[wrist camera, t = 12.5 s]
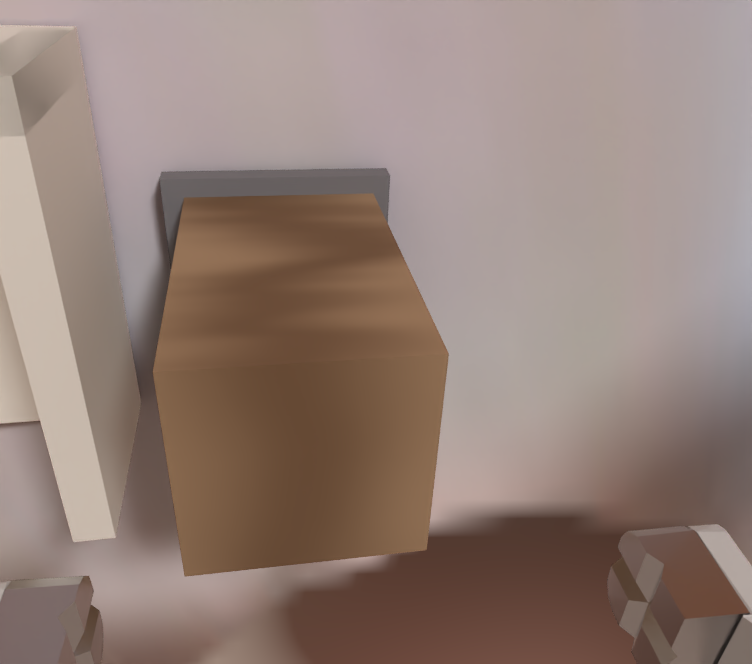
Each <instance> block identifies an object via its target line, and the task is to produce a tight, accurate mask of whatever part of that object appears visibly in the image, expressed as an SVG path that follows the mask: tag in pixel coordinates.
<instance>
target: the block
mask: <svg viewBox="0 0 752 664" xmlns="http://www.w3.org/2000/svg"><path fill="white" fill-rule="evenodd" d="M448 356H449V353H448V351H447V349H446V347H445V345H444V343H443V341H442V339H441V336H440V334H439V332H438V330H437V328H436V326H435V324H434V322H433V319H432V317H431V315H430V313H429V311H428V309H427V307H426V305H425V302H424V300H423V298H422V296H421V294H420V292H419V290H418V287H417V285H416V283H415V281H414V279H413V277H412V275H411V273H410V270H409V268H408V266H407V264H406V262H405V260H404V258H403V256H402V253H401V251H400V249H399V247H398V245H397V243H396V241H395V239H394V236H393V234H392V232H391V230H390V228H389V226H388V224H387V221H386V219H385V217H384V215H383V213H382V211H381V209H380V207H379V204H378V202H377V200H376V198H375V196H374V194H373V193H369V194H323V195H277V196H231V197H185V198H184V201H183V207H182V212H181V218H180V223H179V229H178V235H177V240H176V246H175V251H174V257H173V262H172V268H171V273H170V279H169V284H168V290H167V295H166V301H165V307H164V312H163V318H162V323H161V329H160V334H159V340H158V345H157V351H156V356H155V362H154V368H153V378H154V384H155V390H156V397H157V403H158V409H159V416H160V422H161V429H162V435H163V441H164V448H165V454H166V460H167V467H168V473H169V480H170V486H171V492H172V499H173V505H174V511H175V518H176V524H177V531H178V537H179V543H180V550H181V556H182V562H183V569H184V575H185V576H194V575H203V574H212V573H221V572H230V571H239V570H248V569H258V568H267V567H276V566H285V565H294V564H303V563H312V562H322V561H331V560H340V559H349V558H358V557H367V556H376V555H386V554H395V553H404V552H413V551H422V550H426V549H427V541H428V532H429V523H430V514H431V506H432V497H433V488H434V479H435V470H436V462H437V453H438V444H439V435H440V426H441V418H442V409H443V400H444V391H445V382H446V373H447V365H448Z"/></svg>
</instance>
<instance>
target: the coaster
mask: <svg viewBox="0 0 752 664" xmlns="http://www.w3.org/2000/svg"><path fill="white" fill-rule="evenodd" d="M159 180H160V188H161V196H162V204H163V212H164V219H165V227H166V235H167V243H168V251H169V259H170V266H171V268H172V262H173V257H174V251H175V246H176V240H177V235H178V229H179V223H180V218H181V212H182V207H183V201H184V198H185V197H231V196H277V195H323V194H369V193H373V194H374V196H375V198H376V200H377V202H378V204H379V207H380V209H381V211H382V213H383V215H384V217H385V219H386V221H387V223H388V203H389V184H390V175H389V173H388V171H387V169H386V168H377V169H313V170H249V171H185V172H161V176H160V179H159Z"/></svg>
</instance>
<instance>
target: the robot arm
mask: <svg viewBox="0 0 752 664" xmlns="http://www.w3.org/2000/svg"><path fill="white" fill-rule="evenodd" d="M618 549H619V551H620V553H621V554H622V557H621V558H620V559H619V560H618V561H616V562H615V563H614V564H613V565H612V566H611V569H610V572H609V576H608V579H607V584H608V598H609V601H610V605H611V608H612V612H613V614H614V616H615V618H616V620H617V622H618V625H619V626H620V627H621V628H623V629H624V630H625V631H626V632H628V633H629V634H630V635H632V636H633V637H634V642H633V648H632V654H633V656H634V658H635V660H636V662H637V664H752V566H751V564H750V563H749V561H748V560H747V559H746V557H745V556H744V554H743V553H742V552H741V550H740V549H739V548H738V546H737V545H736V543H735V542H734V541H733V539H732V538H731V536H730V535H729V534H728V532H727V531H726V530H725V529H724V528H723V527H721V526H720V525H718V524H709V525H697V526H687V527H684V526H677V527H667V528H656V529H646V530H635V531H627V532H626V533H625V534H624V535H623V536H622V537H621V539H620V542H619V545H618ZM93 592H94V590H93V587H92V584H91V581H90V578H89V576H79V577H60V578H42V579H24V580H7V581H0V664H101V660H102V651H103V625H102V619H101V615H100V611H99V610H98V609H96V608H95V607H93V606H92V605H91V601H92V597H93Z"/></svg>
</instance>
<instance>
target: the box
mask: <svg viewBox="0 0 752 664" xmlns="http://www.w3.org/2000/svg"><path fill="white" fill-rule="evenodd" d="M140 408H141V399H140V393H139V387H138V381H137V376H136V370H135V364H134V358H133V352H132V347H131V341H130V335H129V329H128V323H127V318H126V312H125V306H124V300H123V294H122V288H121V283H120V277H119V271H118V265H117V259H116V254H115V248H114V242H113V236H112V230H111V225H110V219H109V213H108V207H107V201H106V196H105V190H104V184H103V178H102V172H101V167H100V161H99V155H98V149H97V143H96V137H95V132H94V126H93V120H92V114H91V108H90V103H89V97H88V91H87V85H86V79H85V74H84V68H83V62H82V56H81V50H80V45H79V39H78V33H77V27H76V26H19V25H0V423H14V422H28V421H40V422H41V426H42V429H43V433H44V437H45V440H46V444H47V448H48V451H49V455H50V459H51V462H52V466H53V470H54V473H55V477H56V481H57V484H58V488H59V492H60V495H61V499H62V503H63V506H64V510H65V514H66V517H67V521H68V525H69V528H70V532H71V536H72V539H73V542H79V541H89V540H99V539H109V538H116V533H117V528H118V523H119V518H120V513H121V507H122V502H123V497H124V492H125V487H126V481H127V476H128V471H129V466H130V460H131V455H132V450H133V445H134V440H135V434H136V429H137V424H138V419H139V413H140Z"/></svg>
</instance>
